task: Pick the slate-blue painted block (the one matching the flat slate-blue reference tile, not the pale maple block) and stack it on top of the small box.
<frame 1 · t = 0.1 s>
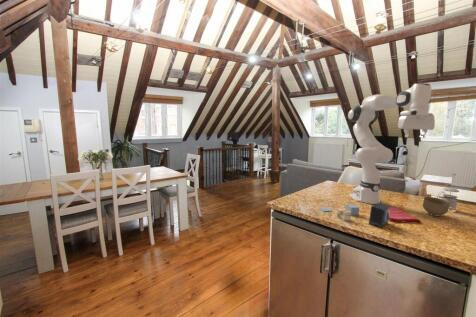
hand: (414, 137, 134), 48 cm above the worktop, fingers open, 8 cm apart
reference tile: (325, 209, 150), on the worktop
french press: (446, 210, 158), on the worktop
bowl: (434, 215, 147), on the worktop
dish towel: (393, 215, 146), on the worktop
small box: (378, 224, 131), on the worktop
maple block: (343, 218, 137), on the worktop
blue block: (352, 213, 145), on the worktop
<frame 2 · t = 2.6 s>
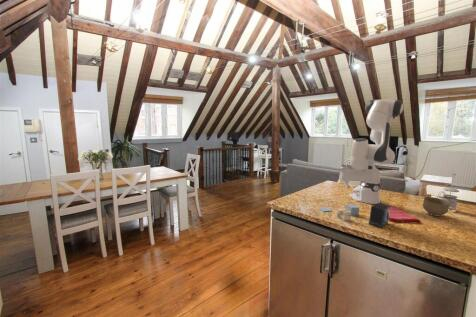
hand: (354, 188, 142), 16 cm above the worktop, fingers open, 8 cm apart
nothing on the worktop moved.
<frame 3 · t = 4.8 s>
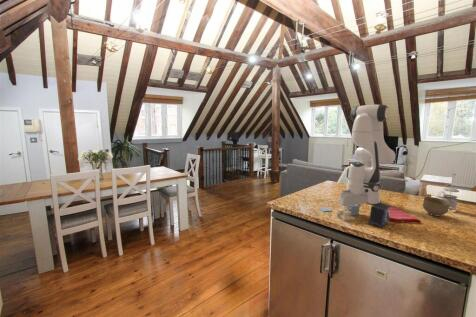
hand: (352, 211, 145), 2 cm above the worktop, fingers closed on blue block, 5 cm apart
blue block: (352, 213, 145), on the worktop, touching gripper
everything else where it was.
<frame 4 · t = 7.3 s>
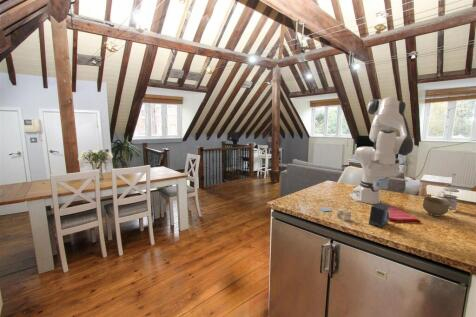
hand: (380, 185, 129), 22 cm above the worktop, fingers closed on blue block, 5 cm apart
blue block: (379, 187, 129), point 20 cm above the worktop, touching gripper
everything else where it was.
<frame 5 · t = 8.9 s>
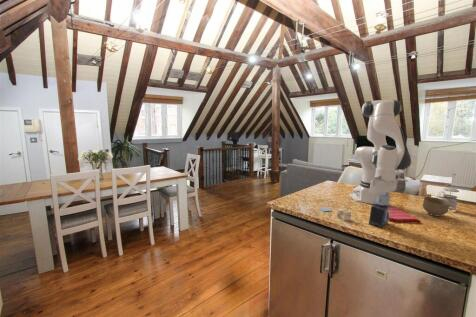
hand: (381, 200, 129), 13 cm above the worktop, fingers closed on blue block, 5 cm apart
blue block: (381, 203, 129), point 12 cm above the worktop, touching gripper
everything else where it was.
when the fingers open (13 cm above the worktop, at t = 9.9 s): blue block stays where it is, resting on small box.
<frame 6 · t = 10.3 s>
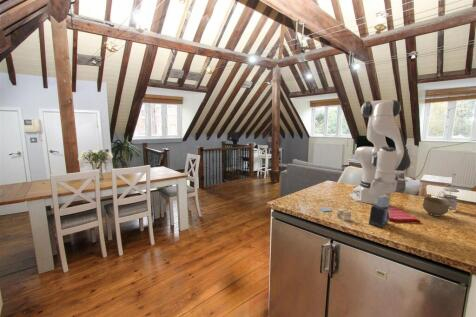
hand: (381, 201, 129), 13 cm above the worktop, fingers open, 8 cm apart
small box: (378, 224, 131), on the worktop, touching blue block
blue block: (381, 205, 130), point 10 cm above the worktop, touching small box
everything else where it was.
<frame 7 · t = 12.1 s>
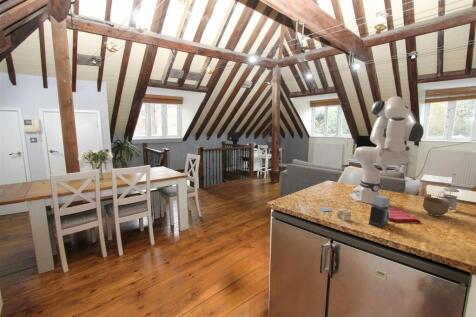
hand: (390, 172, 130), 29 cm above the worktop, fingers open, 8 cm apart
nothing on the worktop moved.
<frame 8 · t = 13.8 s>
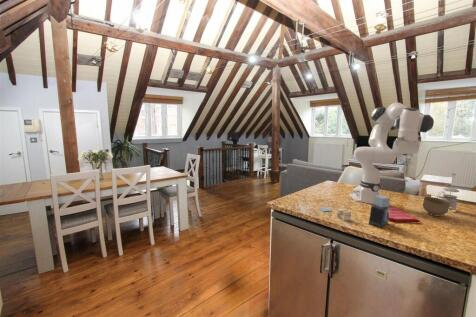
hand: (403, 161, 134), 34 cm above the worktop, fingers open, 8 cm apart
nothing on the worktop moved.
at the end: blue block inside the target area on the small box (0.2 cm from its centre), point 10.7 cm above the small box's base; blue block tilted 0°; the gripper is holding nothing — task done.
